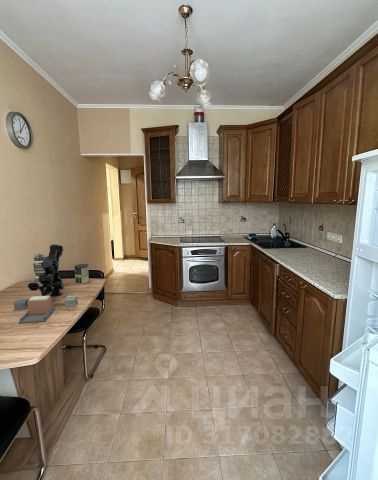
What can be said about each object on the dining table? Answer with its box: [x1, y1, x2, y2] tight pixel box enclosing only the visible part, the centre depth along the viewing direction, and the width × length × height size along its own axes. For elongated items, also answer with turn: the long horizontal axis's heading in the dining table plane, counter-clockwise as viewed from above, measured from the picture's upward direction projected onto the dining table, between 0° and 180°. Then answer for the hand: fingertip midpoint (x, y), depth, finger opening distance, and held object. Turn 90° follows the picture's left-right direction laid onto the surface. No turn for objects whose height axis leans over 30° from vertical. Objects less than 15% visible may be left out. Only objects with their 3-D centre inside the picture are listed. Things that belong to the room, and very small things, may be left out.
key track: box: [18, 306, 56, 325], centre depth 141 cm, size 16×13×2 cm
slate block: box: [13, 297, 30, 312], centre depth 151 cm, size 6×6×5 cm
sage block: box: [63, 295, 79, 308], centre depth 156 cm, size 6×6×5 cm
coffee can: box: [73, 263, 90, 285], centre depth 200 cm, size 10×10×14 cm
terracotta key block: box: [27, 295, 52, 315], centre depth 143 cm, size 6×10×9 cm, turn 100°
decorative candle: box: [32, 253, 47, 285], centre depth 189 cm, size 9×9×25 cm
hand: (43, 298), depth 148 cm, fingers closed
